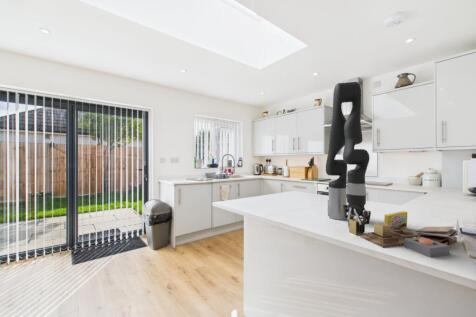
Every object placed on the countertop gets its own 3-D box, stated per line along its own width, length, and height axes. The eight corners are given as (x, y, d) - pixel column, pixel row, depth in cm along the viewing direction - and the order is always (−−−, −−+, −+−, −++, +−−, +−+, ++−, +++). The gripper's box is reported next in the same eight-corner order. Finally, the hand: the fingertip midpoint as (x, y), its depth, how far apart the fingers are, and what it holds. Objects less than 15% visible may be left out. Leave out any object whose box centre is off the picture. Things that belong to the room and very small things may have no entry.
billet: (349, 232, 97) (349, 219, 97) (356, 231, 98) (356, 218, 98) (355, 235, 93) (355, 221, 93) (363, 234, 94) (363, 221, 94)
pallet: (360, 237, 91) (360, 231, 91) (401, 233, 96) (401, 227, 96) (383, 247, 80) (383, 241, 80) (428, 242, 85) (428, 236, 85)
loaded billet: (374, 237, 88) (374, 223, 88) (382, 236, 89) (381, 222, 89) (382, 241, 84) (382, 226, 84) (390, 240, 85) (390, 225, 85)
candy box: (388, 234, 95) (388, 215, 95) (383, 232, 97) (383, 214, 97) (407, 228, 102) (407, 211, 102) (402, 227, 104) (402, 210, 104)
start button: (415, 247, 79) (415, 238, 79) (424, 246, 80) (424, 237, 80) (427, 252, 75) (427, 242, 75) (436, 251, 76) (436, 241, 76)
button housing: (403, 246, 81) (403, 238, 81) (422, 244, 83) (422, 236, 83) (429, 257, 72) (429, 248, 72) (449, 254, 74) (449, 245, 74)
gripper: (338, 191, 102) (338, 226, 102) (361, 196, 88) (361, 236, 88) (351, 190, 103) (351, 225, 103) (376, 195, 89) (376, 235, 89)
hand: (356, 230), depth 96 cm, fingers open, 5 cm apart
